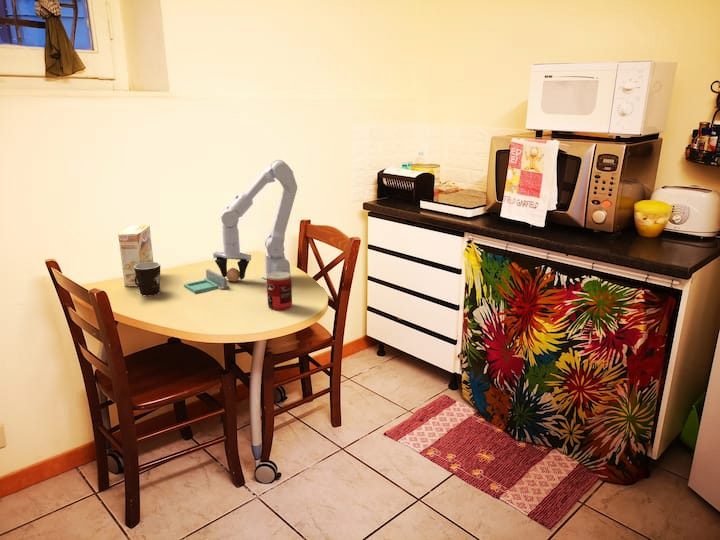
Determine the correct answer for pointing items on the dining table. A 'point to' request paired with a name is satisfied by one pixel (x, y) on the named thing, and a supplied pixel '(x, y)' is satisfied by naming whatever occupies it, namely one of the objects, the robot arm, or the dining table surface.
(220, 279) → the wall
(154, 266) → the coffee mug
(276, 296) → the canned food
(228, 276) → the ball
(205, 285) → the coaster
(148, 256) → the coffeecake box
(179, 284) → the dining table surface
